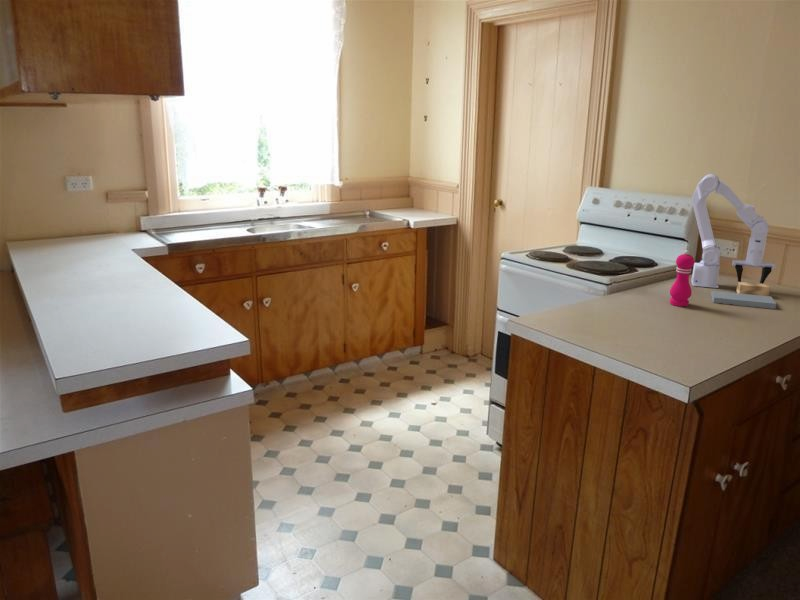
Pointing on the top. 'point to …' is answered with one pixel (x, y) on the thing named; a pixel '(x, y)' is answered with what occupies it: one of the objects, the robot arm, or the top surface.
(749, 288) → the oak bar
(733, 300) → the slate board
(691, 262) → the pepper mill
